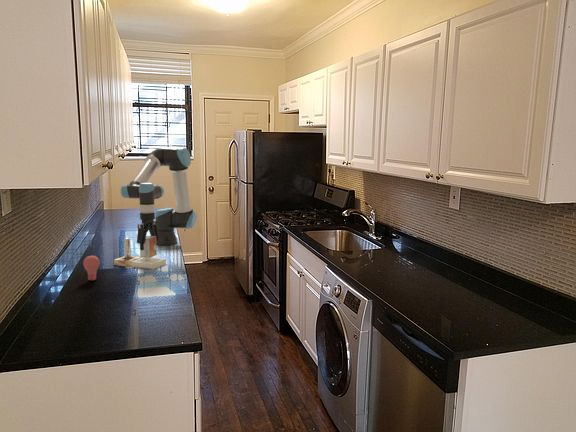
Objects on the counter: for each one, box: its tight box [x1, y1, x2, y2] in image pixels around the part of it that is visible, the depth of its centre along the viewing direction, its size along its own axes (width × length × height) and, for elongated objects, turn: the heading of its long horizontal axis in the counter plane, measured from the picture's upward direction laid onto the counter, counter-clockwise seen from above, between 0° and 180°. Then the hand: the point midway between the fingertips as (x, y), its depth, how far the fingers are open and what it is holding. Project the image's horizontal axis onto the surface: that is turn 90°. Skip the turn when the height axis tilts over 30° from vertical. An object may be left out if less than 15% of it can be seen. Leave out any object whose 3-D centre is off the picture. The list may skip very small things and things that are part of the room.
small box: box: [139, 235, 158, 258], centre depth 234 cm, size 8×6×10 cm
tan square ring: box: [113, 255, 141, 268], centre depth 239 cm, size 10×10×3 cm
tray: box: [131, 256, 167, 271], centre depth 236 cm, size 12×13×3 cm
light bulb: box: [82, 255, 100, 281], centre depth 208 cm, size 7×7×12 cm
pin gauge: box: [123, 237, 132, 260], centre depth 238 cm, size 3×3×14 cm
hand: (148, 253), depth 235 cm, fingers closed on small box, 8 cm apart
